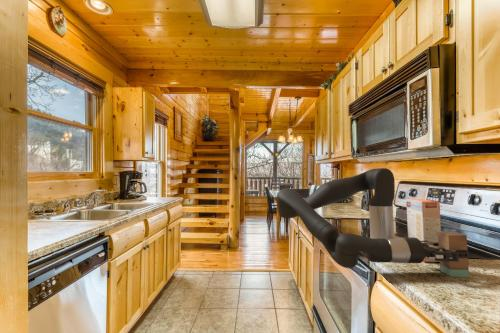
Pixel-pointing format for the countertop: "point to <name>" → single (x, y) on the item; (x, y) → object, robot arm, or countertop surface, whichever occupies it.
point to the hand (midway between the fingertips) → (457, 250)
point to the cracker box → (423, 221)
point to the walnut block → (450, 242)
